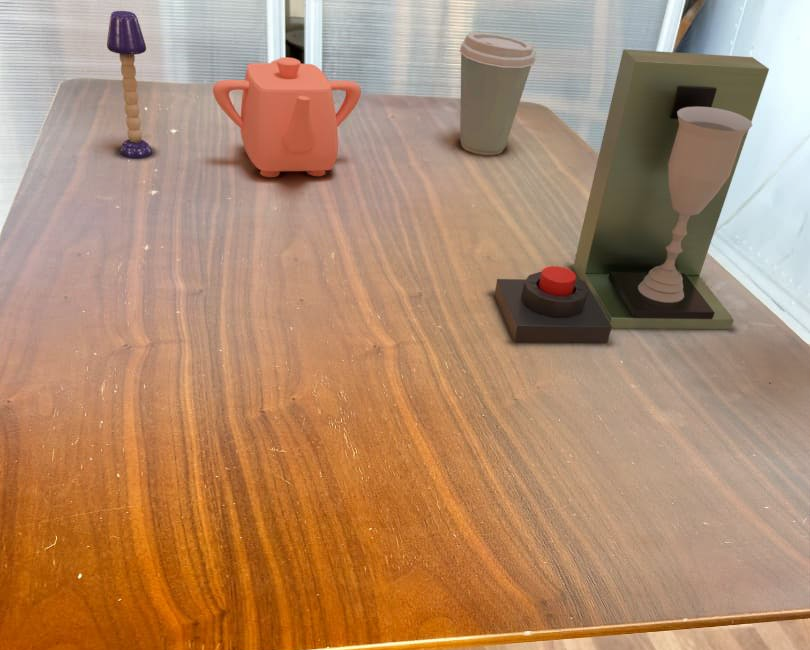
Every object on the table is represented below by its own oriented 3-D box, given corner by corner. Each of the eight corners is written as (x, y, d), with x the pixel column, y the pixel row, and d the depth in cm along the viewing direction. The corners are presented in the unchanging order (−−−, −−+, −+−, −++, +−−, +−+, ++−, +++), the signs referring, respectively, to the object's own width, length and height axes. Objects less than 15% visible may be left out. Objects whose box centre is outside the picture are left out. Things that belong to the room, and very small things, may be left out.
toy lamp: (127, 146, 120) (109, 6, 108) (161, 150, 120) (147, 10, 108) (115, 158, 116) (96, 15, 105) (150, 162, 116) (135, 20, 105)
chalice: (674, 274, 100) (727, 106, 88) (706, 304, 95) (767, 130, 83) (617, 278, 98) (663, 107, 86) (647, 308, 93) (700, 131, 81)
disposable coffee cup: (465, 131, 136) (479, 21, 125) (530, 148, 133) (550, 37, 122) (436, 151, 128) (448, 36, 118) (504, 169, 125) (523, 53, 115)
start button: (567, 281, 93) (571, 266, 92) (576, 298, 91) (580, 282, 90) (534, 281, 93) (537, 265, 92) (543, 297, 90) (546, 282, 89)
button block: (580, 298, 99) (588, 264, 96) (606, 345, 91) (616, 310, 89) (493, 297, 97) (499, 263, 94) (513, 344, 90) (520, 309, 87)
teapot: (272, 137, 127) (270, 35, 118) (368, 163, 123) (374, 59, 114) (202, 172, 116) (194, 62, 107) (306, 202, 111) (306, 90, 102)
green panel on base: (683, 271, 106) (752, 56, 90) (729, 331, 96) (816, 102, 80) (572, 269, 104) (623, 48, 88) (607, 330, 94) (672, 94, 78)
